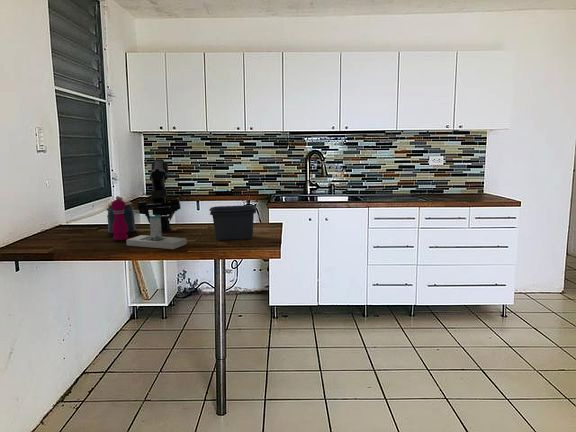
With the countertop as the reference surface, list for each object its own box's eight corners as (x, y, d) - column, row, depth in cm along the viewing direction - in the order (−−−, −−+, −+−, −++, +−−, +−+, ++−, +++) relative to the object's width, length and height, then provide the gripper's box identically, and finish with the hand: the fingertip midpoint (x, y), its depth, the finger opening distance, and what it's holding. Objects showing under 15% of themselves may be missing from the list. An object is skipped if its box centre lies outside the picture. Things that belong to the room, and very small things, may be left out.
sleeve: (149, 244, 201) (147, 215, 199) (158, 243, 205) (156, 214, 202) (154, 246, 198) (152, 216, 196) (164, 244, 201) (162, 215, 199)
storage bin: (209, 241, 206) (208, 210, 204) (213, 234, 221) (211, 205, 219) (257, 240, 207) (256, 209, 205) (257, 233, 222) (256, 204, 220)
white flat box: (126, 245, 201) (126, 239, 200) (141, 240, 210) (141, 234, 210) (173, 249, 193) (173, 242, 192) (186, 244, 202) (186, 238, 201)
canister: (140, 229, 237) (138, 195, 234) (127, 234, 224) (124, 198, 221) (117, 228, 239) (114, 195, 236) (103, 234, 226) (100, 198, 223)
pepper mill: (132, 237, 216) (129, 195, 213) (120, 240, 210) (117, 197, 207) (120, 236, 219) (117, 195, 216) (109, 239, 213) (105, 196, 210)
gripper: (134, 185, 209) (134, 214, 201) (176, 181, 211) (178, 209, 203) (139, 198, 218) (139, 226, 210) (179, 194, 221) (181, 222, 213)
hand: (159, 221), depth 209 cm, fingers open, 9 cm apart
